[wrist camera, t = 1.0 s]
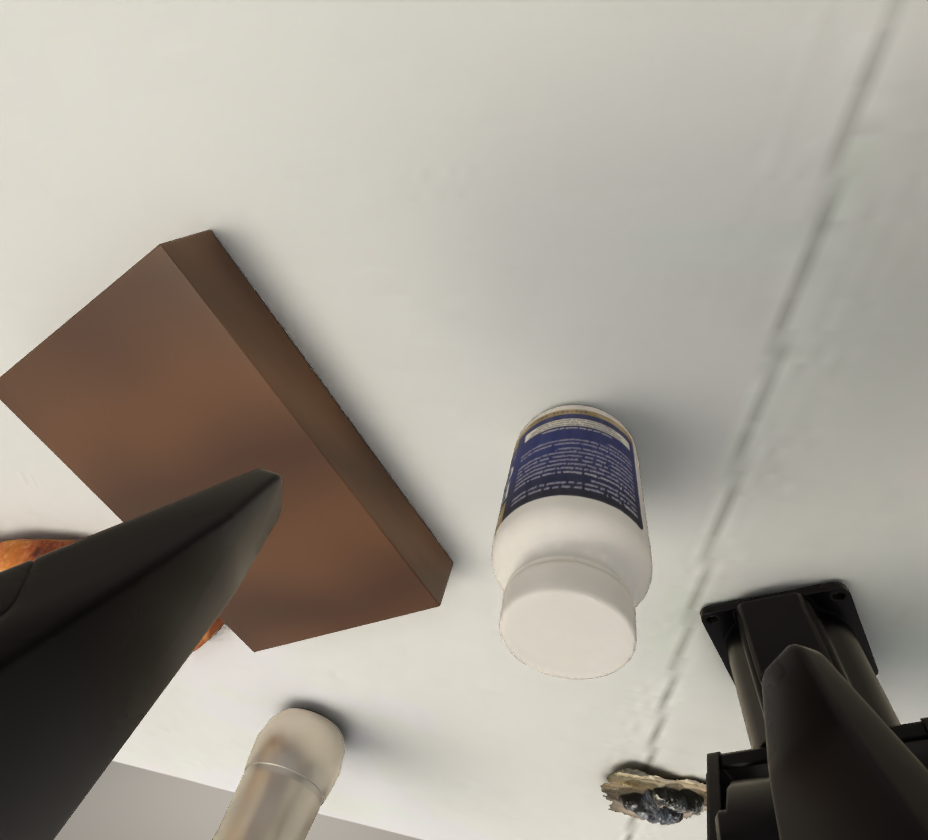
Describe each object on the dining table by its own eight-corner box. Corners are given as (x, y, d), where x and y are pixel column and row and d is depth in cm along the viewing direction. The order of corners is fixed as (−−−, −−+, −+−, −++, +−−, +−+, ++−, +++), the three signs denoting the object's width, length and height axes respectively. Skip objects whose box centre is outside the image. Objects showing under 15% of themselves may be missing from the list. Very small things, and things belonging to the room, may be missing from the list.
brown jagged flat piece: (592, 758, 35) (592, 788, 33) (720, 762, 32) (727, 796, 31) (613, 810, 38) (613, 841, 36) (732, 818, 35) (739, 852, 33)
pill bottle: (496, 421, 23) (445, 587, 15) (614, 385, 21) (630, 555, 13) (540, 511, 25) (516, 701, 17) (651, 486, 23) (686, 689, 15)
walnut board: (453, 562, 28) (440, 606, 26) (278, 613, 34) (253, 652, 32) (210, 228, 21) (159, 243, 19) (43, 362, 27) (-13, 387, 25)
